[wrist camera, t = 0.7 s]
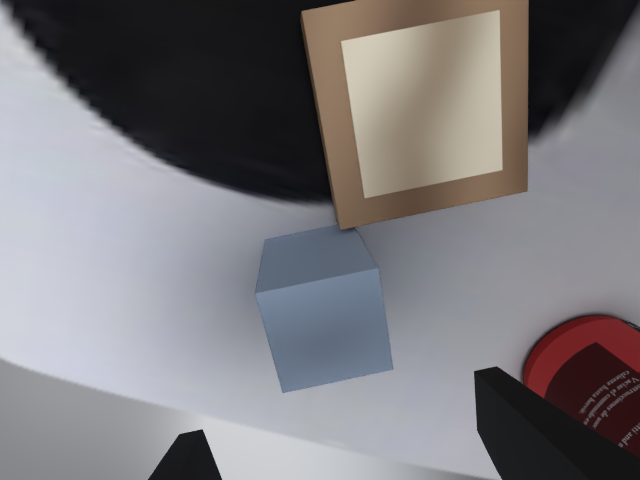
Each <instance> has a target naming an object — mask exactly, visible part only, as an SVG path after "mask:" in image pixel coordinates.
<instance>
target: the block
mask: <svg viewBox="0 0 640 480" xmlns="http://www.w3.org/2000/svg"><path fill="white" fill-rule="evenodd" d="M255 295H256V299H257V302H258V306H259V310H260V313H261V317H262V320H263V324H264V328H265V331H266V335H267V338H268V342H269V346H270V349H271V353H272V356H273V360H274V363H275V367H276V371H277V374H278V378H279V381H280V385H281V389H282V392H283V393H285V392H290V391H295V390H299V389H304V388H309V387H313V386H318V385H323V384H327V383H332V382H337V381H342V380H346V379H351V378H356V377H360V376H365V375H370V374H374V373H379V372H384V371H388V370H393V363H392V356H391V349H390V342H389V335H388V329H387V322H386V315H385V308H384V301H383V294H382V288H381V281H380V274H379V268H378V266H377V264H376V263H375V261H374V259H373V258H372V256H371V254H370V253H369V251H368V249H367V247H366V246H365V244H364V242H363V241H362V239H361V237H360V236H359V234H358V232H357V231H356V229H355V227H352V228H347V229H342V230H340V228H339V225H334V226H329V227H324V228H319V229H314V230H310V231H305V232H300V233H295V234H290V235H285V236H280V237H276V238H271V239H266V240H265V242H264V248H263V253H262V259H261V264H260V269H259V275H258V280H257V286H256V291H255Z"/></svg>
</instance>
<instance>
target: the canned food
mask: <svg viewBox="0 0 640 480" xmlns="http://www.w3.org/2000/svg"><path fill="white" fill-rule="evenodd" d="M523 379H524V385H525V386H526V387H528V388H529V389H531V390H532V391H534V392H535V393H537V394H538V395H540V396H541V397H543V398H544V399H546V400H547V401H549V402H550V403H552V404H553V405H555V406H556V407H558V408H559V409H561V410H562V411H564V412H565V413H567V414H568V415H570V416H572V417H573V418H575V419H576V420H578V421H579V422H581V423H582V424H584V425H586V426H587V427H589V428H590V429H592V430H594V431H595V432H597V433H598V434H600V435H602V436H603V437H605V438H607V439H608V440H610V441H612V442H613V443H615V444H617V445H618V446H620V447H622V448H624V449H625V450H627V451H629V452H630V453H632V454H634V455H636V456H637V457H639V458H640V327H639V326H637V325H635V324H633V323H631V322H628V321H624V320H621V319H617V318H613V317H608V316H587V317H581V318H578V319H575V320H572V321H569V322H567V323H565V324H563V325H561V326H559V327H557V328H556V329H554V330H553V331H551V332H550V333H548V334H547V335H546V336H545V337H544V338H543V339H542V340H541V341H540V342H539V343H538V344H537V345H536V347H535V348H534V349H533V350H532V352H531V354H530V356H529V358H528V360H527V362H526V365H525V369H524V378H523Z"/></svg>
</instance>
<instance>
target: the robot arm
mask: <svg viewBox="0 0 640 480" xmlns="http://www.w3.org/2000/svg"><path fill="white" fill-rule="evenodd" d="M474 379H475V398H476V416H477V431H478V433H479V435H480V437H481V439H482V441H483V443H484V445H485V448H486V450H487V452H488V454H489V456H490V458H491V460H492V462H493V464H494V466H495V468H496V470H497V471H498V473H499V475H500V476H501V478H502V480H640V458H639V457H637V456H636V455H634V454H632V453H630V452H629V451H627V450H625V449H624V448H622V447H620V446H618V445H617V444H615V443H613V442H612V441H610V440H608V439H607V438H605V437H603V436H602V435H600V434H598V433H597V432H595V431H594V430H592V429H590V428H589V427H587V426H586V425H584V424H582V423H581V422H579V421H578V420H576V419H575V418H573V417H572V416H570V415H568V414H567V413H565V412H564V411H562V410H561V409H559V408H558V407H556V406H555V405H553V404H552V403H550V402H549V401H547V400H546V399H544V398H543V397H541V396H540V395H538V394H537V393H535V392H534V391H532V390H531V389H529V388H528V387H526V386H525V385H523V384H522V383H521V382H519V381H518V380H516V379H515V378H513V377H512V376H510V375H509V374H507V373H506V372H504V371H503V370H501V369H500V368H498V367H497V366H496V367H492V368H487V369H482V370H478V371H474ZM148 480H222V478H221V476H220V473H219V470H218V468H217V466H216V463H215V460H214V458H213V455H212V452H211V450H210V447H209V445H208V442H207V439H206V437H205V434H204V432H203V430H197V431H192V432H188V433H183V434H179V436H178V437H177V439H176V440H175V441H174V443H173V444H172V445H171V447H170V448H169V450H168V452H167V453H166V454H165V456H164V457H163V458H162V460H161V461H160V463H159V464H158V466H157V467H156V469H155V470H154V472H153V473H152V475H151V476H150V478H149V479H148Z"/></svg>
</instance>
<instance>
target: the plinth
mask: <svg viewBox="0 0 640 480" xmlns="http://www.w3.org/2000/svg"><path fill="white" fill-rule="evenodd" d="M300 22H301V28H302V33H303V39H304V45H305V50H306V56H307V61H308V67H309V72H310V78H311V83H312V89H313V94H314V100H315V106H316V111H317V117H318V122H319V128H320V133H321V139H322V144H323V150H324V155H325V161H326V166H327V172H328V178H329V183H330V189H331V194H332V200H333V205H334V211H335V216H336V221H337V223H338V225H339V228H340V230H342V229H347V228H352V227H357V226H362V225H367V224H371V223H376V222H381V221H386V220H391V219H396V218H400V217H405V216H410V215H415V214H420V213H425V212H430V211H434V210H439V209H444V208H449V207H454V206H459V205H464V204H468V203H473V202H478V201H483V200H488V199H493V198H498V197H502V196H507V195H512V194H517V193H522V192H527V190H528V0H357V1H352V2H347V3H341V4H336V5H331V6H326V7H321V8H316V9H311V10H306V11H302V13H301V20H300Z"/></svg>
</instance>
